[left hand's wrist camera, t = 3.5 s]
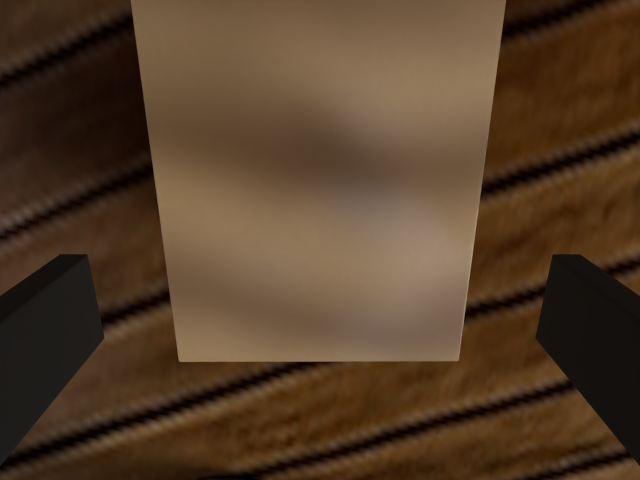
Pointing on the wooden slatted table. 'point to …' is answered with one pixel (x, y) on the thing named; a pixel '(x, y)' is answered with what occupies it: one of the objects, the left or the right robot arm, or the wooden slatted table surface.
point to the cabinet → (318, 171)
